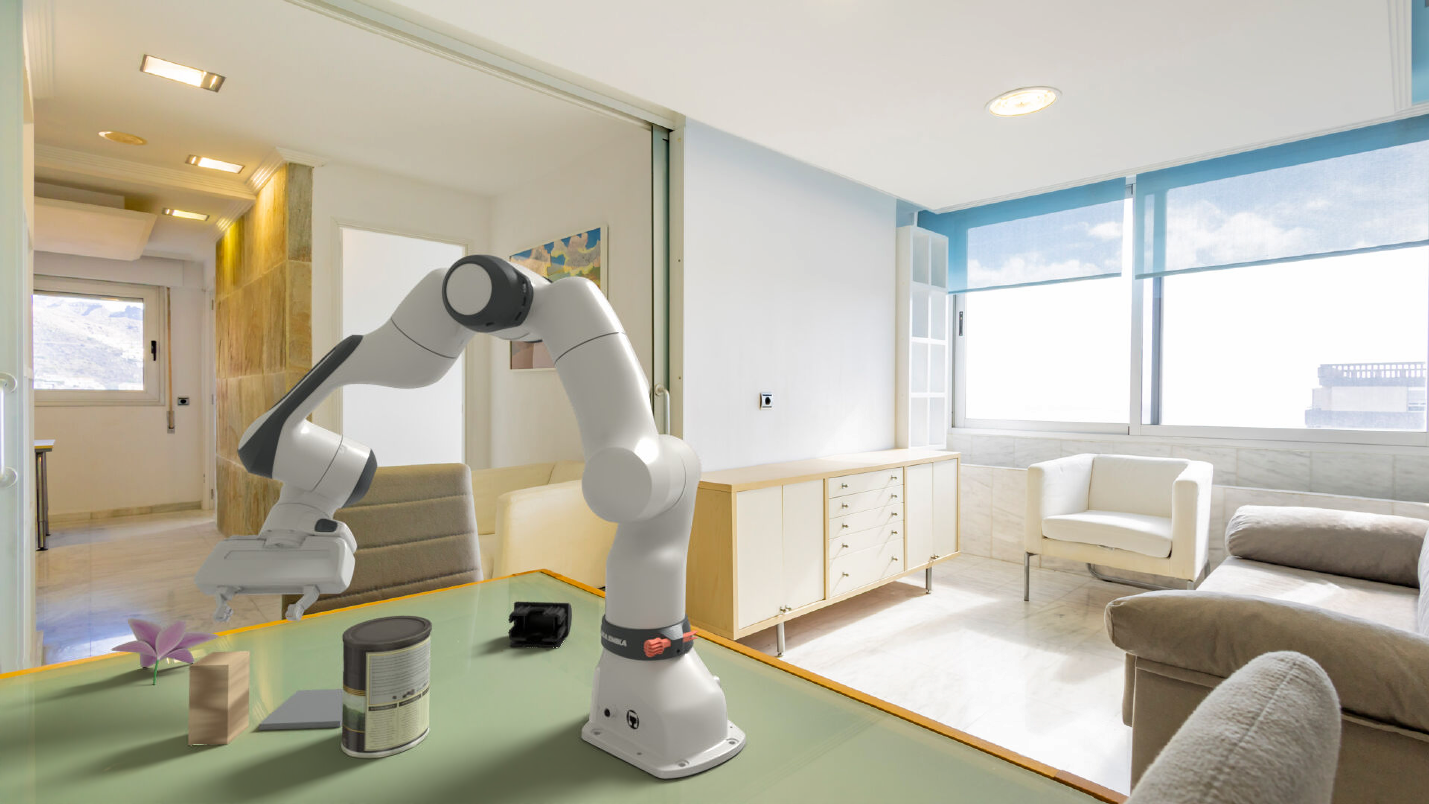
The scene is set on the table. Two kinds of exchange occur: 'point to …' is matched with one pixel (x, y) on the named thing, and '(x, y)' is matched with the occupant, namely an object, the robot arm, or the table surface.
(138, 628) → the lily
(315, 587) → the robot arm
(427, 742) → the table surface
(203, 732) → the oak block
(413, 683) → the coffee can
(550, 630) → the end cap
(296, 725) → the slate coaster
